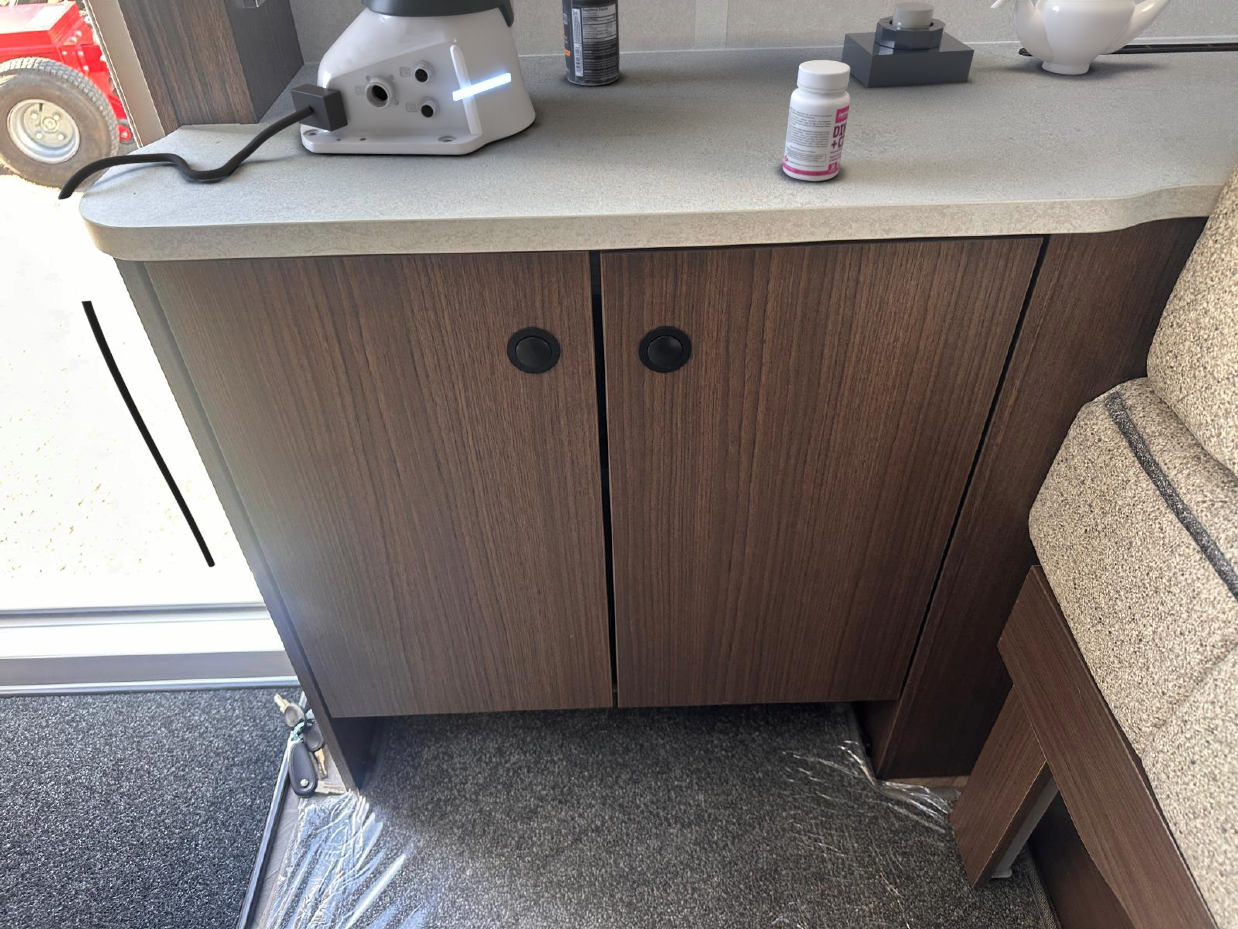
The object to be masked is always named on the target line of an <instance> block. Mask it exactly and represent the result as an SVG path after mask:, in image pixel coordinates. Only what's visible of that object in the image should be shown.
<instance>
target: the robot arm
mask: <svg viewBox="0 0 1238 929" xmlns="http://www.w3.org/2000/svg"><path fill="white" fill-rule="evenodd" d="M361 4H362V6H365V8H364V9H363V10H362V11H361V12H360V14H359V15H358V16H357V17H356V18H355V19H354V20H353V21H352V23H351V24H349V26H348V27H347V28H346V29H345V30H344V31H343V32H342V33H341V35H340V36H339V37H338V38H337V39H336V40H335V42H334V43H333V44H332V45H330V47H329V49H328V50H327V51H326V52H325V54H324V55H323V57H322V59H321V61H320V63H319V66H318V70H317V83H316V85H315V84H310V83H304V84H302V85H298V86H296V87H293V88H289V89H290V95H291V98H292V103H293V106H294V110H295V112H293V113H291V114H289V115H287V116H285V117H283V118H281V119H280V120H277V121H276V122H274V123H272V124H270V125H269V126H268V127H266V128H265V129H263V130H262V131H260V132H259V133H258V134H257V135H256V136H255V137H253V138H252V139H251V140H250V141H249V142H248V144H247V145H245V146H244V147H243V148H242V149H241V150H240V151H238V152H237V153H236V154H234V155H233V156H232V157H231V158H230V159H229V160H228V161H227V162H226V163H224V164H223V165H222V166H220V167H217V168H214V169H208V170H196V169H192V167H190V165H189V164H188V161H186V160H185V158H183V157H182V156H181V155H178V154H176V153H171V152H157V153H140V154H139V153H138V154H123V155H115V156H110V157H105V158H100V159H98V160H95V161H93V162H91V163H88V164H86V165H84V166H83V167H82V168H80V169H79V170H77V171H76V172H75V173H74V174H73V175H72V176H71V177H70V178H68V180H67V181H66V182H65V184H64V185H63V187H62V188H61V190H60V192H59V194H58V197H57V200H60V201H63V200H66V199H69V198H71V197H72V195H73V194H74V192H75V191H76V190H77V188H78V187H79V186H80V185H81V184H82V183H83V182H84V181H85V180H86V179H88V178H89V177H90V176H92V175H94V174H96V173H98V172H100V171H102V170H104V169H108V168H113V167H117V166H124V165H134V164H150V163H172V164H175V165H176V166H178V168H179V169H180V171H181V172H182V173H183V174H184V175H185V176H186V177H188V178H189V179H190V180H191V179H192V180H196V181H207V180H208V181H209V180H215V179H219V178H223V177H226V176H228V175H229V174H231V173H232V172H234V170H235V169H236V168H237V167H238V166H239V165H240V164H242V163H243V162H244V161H246V160H247V159H248V158H249V157H251V156H252V155H253V154H254V153H255V152H256V151H257V150H258V149H259V148H260V147H261V146H263V144H265V142H267V141H268V140H270V138H272V137H274V136H275V135H277V134H278V133H280V132H282V131H283V130H286V129H287V128H288V127H290V126H291V127H292V125H294V124H297V123H298V124H300V138H301V142H302V145H303V146H304V148H305V149H307V150H308V151H309V152H311V153H316V154H373V155H375V154H378V155H379V154H380V155H381V154H384V155H386V154H387V155H389V154H390V155H466V154H469V153H472V152H474V151H476V150H478V149H480V148H481V147H483V146H485V145H486V144H489V143H491V142H494V141H498V140H501V139H504V138H507V137H510V136H512V135H514V134H518V133H519V132H522V131H523V130H525V129H526V128H528V127H530V126H531V125H532V123H533V122H534V121H535V119H536V112H535V109H534V106H533V104H532V101H531V98H530V95H529V92H528V89H527V85H526V82H525V79H524V75H523V71H522V66H521V63H520V57H519V54H518V48H517V43H516V37H515V33H514V27H513V24H514V22H515V15H516V8H515V7H516V6H515V5H516V4H515V0H361ZM81 306H82V308H83V311H84V314H85V316H86V318H87V321H88V323H89V325H90V329H91V332H92V334H93V336H94V338H95V341H96V343H97V347H98V348H99V350H100V353H101V355H102V357H103V360H104V362H105V364H106V366H107V368H108V371H109V373H110V375H111V377H112V379H113V380H114V383H115V385H116V388H117V390H118V391H119V394H120V396H121V397H122V399H123V402H124V403H125V406H126V408H127V410H128V411H129V414H130V415H131V417H132V419H133V421H134V424H135V425H136V427H137V430H138V431H139V433H140V434H141V436H142V439H143V441H144V442H145V444H146V446H147V449H148V451H149V452H150V454H151V456H152V458H153V460H154V462H155V463H156V465H157V467H158V469H159V471H160V472H161V474H162V475H161V476H163V479H164V481H165V482H166V484H167V486H168V488H169V490H170V491H171V494H172V495H173V497H174V499H175V501H176V503H177V505H178V508H179V509H180V511H181V513H182V515H183V517H184V519H185V521H186V523H187V525H188V526H189V529H190V531H191V533H192V535H193V537H194V539H195V541H196V543H197V545H198V547H199V549H200V551H201V554H202V555H203V556H202V557H203V558H204V560H205V562H206V564H207V567H208V568H213V567H214V566H216V562H215V560H214V558H213V556H212V554H211V552H210V550H209V547H208V545H207V542H206V541H205V539H204V537H203V535H202V532H201V530H200V528H199V526H198V524H197V522H196V520H195V518H194V515H193V514H192V512H191V510H190V508H189V506H188V504H187V503H186V500H185V498H184V497H183V494H182V492H181V491H180V489H179V487H178V485H177V483H176V481H175V479H174V477H173V474H172V472H171V471H170V469H169V468H168V466H167V463H166V461H165V459H164V458H163V456H162V454H161V452H160V450H159V448H158V446H157V444H156V442H155V440H154V438H153V437H152V434H151V433H150V431H149V429H148V427H147V425H146V423H145V420H144V419H143V416H142V414H141V413H140V411H139V409H138V406H137V405H136V403H135V401H134V398H133V397H132V395H131V393H130V391H129V388H128V385H127V383H126V382H125V380H124V378H123V376H122V374H121V371H120V369H119V367H118V365H117V363H116V360H115V358H114V355H113V353H112V351H111V349H110V347H109V344H108V341H107V340H106V337H105V335H104V332H103V329H102V326H101V324H100V321H99V319H98V316H97V314H96V311H95V308H94V305H93V302H92V300H81Z"/></svg>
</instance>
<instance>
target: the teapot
mask: <svg viewBox="0 0 1238 929" xmlns="http://www.w3.org/2000/svg"><path fill="white" fill-rule="evenodd" d="M1009 1H1010V0H996V1H995V2H994V3H993V4H992V5H990V8H991V9H1001V8H1003V7H1004V6H1005V5H1006V4H1007V3H1008V2H1009ZM1172 1H1173V0H1143V1H1141V2H1139V3H1136V0H1036V2H1035V5H1034V3H1033V0H1015V4H1014V10H1013V24H1014V29H1015V32H1016V35H1017V38H1018V40H1019V43H1020V44H1021V46H1022V47H1023V49H1024V50H1025V51H1026V52H1027V53H1028V54H1030V55H1031V56H1032V57H1033V58H1035V59H1037V60H1039V61H1041V62H1042V65H1041V68H1042V69H1043V70H1044V71H1047V72H1050V73H1055V74H1059V75H1069V76H1070V75H1072V76H1073V75H1083V74H1086V73H1088V72H1089V70H1090V69H1089V68H1090V65H1091V62H1093V61H1094V60H1095V59H1096V58H1098V57H1099V56H1101V55H1109V54H1112V53H1116V52H1117V51H1119V50H1121V49H1122V48H1124V47H1125V46H1127V45H1128V44H1130V43H1131V42H1132V41H1133V40H1135V39H1136V38H1137V37H1139V36H1140V35H1141V34H1142V33H1143V32H1144V31H1145V30H1146V29H1148V28H1149V26H1150V25H1151V24H1153V23H1154V22H1155V20H1156V19H1157V18H1158V17H1159V16H1160V15H1161V14H1162V13H1163V11H1165V9H1166V8H1167V7H1168V6H1169V4H1171V2H1172Z"/></svg>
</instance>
